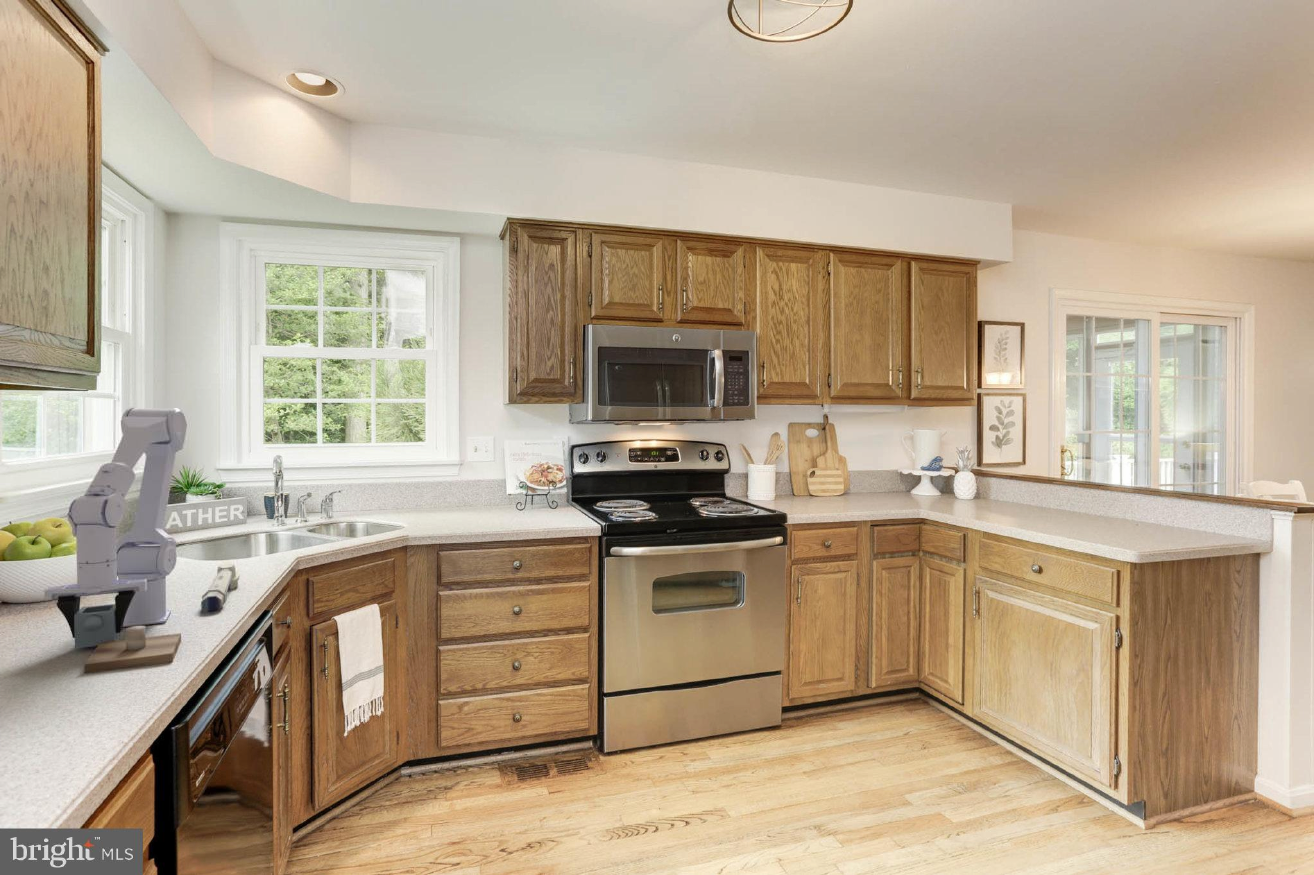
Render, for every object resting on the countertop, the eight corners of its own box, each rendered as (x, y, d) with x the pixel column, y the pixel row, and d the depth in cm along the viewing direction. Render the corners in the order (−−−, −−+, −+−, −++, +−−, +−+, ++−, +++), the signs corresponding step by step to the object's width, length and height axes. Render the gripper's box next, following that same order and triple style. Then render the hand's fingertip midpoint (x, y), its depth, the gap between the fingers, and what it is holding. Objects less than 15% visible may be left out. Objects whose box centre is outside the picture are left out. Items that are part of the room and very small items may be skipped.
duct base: (100, 650, 124) (100, 623, 124) (181, 641, 130) (180, 614, 130) (84, 673, 114) (84, 643, 113) (172, 661, 119) (172, 633, 119)
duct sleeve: (82, 639, 128) (82, 607, 128) (120, 634, 131) (119, 603, 130) (71, 651, 121) (71, 618, 121) (111, 647, 124) (111, 614, 124)
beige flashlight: (196, 596, 147) (215, 557, 169) (197, 626, 148) (216, 583, 170) (225, 594, 149) (240, 556, 172) (226, 623, 150) (240, 581, 173)
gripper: (38, 568, 119) (39, 646, 120) (142, 561, 126) (143, 634, 127) (50, 560, 125) (51, 634, 126) (148, 554, 132) (149, 623, 133)
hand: (98, 633), depth 127 cm, fingers closed on duct sleeve, 6 cm apart
